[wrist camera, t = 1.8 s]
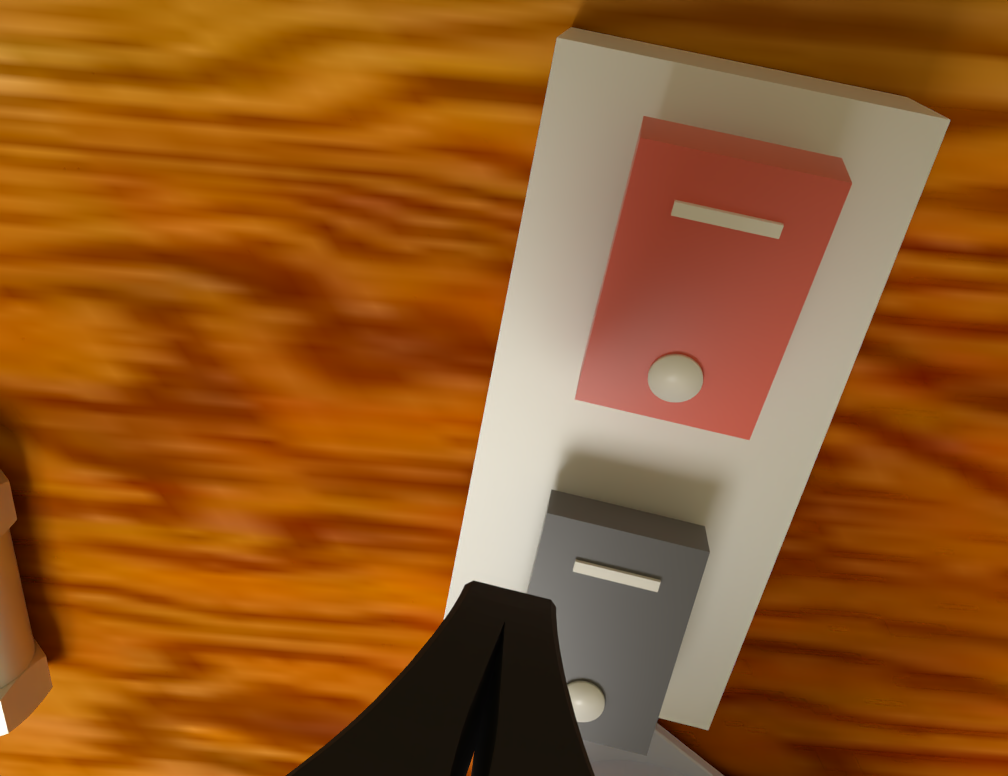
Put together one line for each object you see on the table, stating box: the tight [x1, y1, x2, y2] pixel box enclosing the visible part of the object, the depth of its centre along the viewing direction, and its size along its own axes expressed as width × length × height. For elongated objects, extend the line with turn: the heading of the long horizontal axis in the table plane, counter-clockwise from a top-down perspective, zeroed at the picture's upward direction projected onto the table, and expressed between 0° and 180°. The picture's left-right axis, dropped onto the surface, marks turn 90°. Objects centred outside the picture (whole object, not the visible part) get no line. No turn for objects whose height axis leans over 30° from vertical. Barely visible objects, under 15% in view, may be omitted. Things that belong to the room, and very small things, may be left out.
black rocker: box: [526, 489, 710, 756], centre depth 20 cm, size 5×3×1 cm, turn 170°
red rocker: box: [575, 116, 852, 440], centre depth 16 cm, size 5×3×1 cm, turn 169°
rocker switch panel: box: [444, 27, 950, 730], centre depth 20 cm, size 15×7×3 cm, turn 170°
